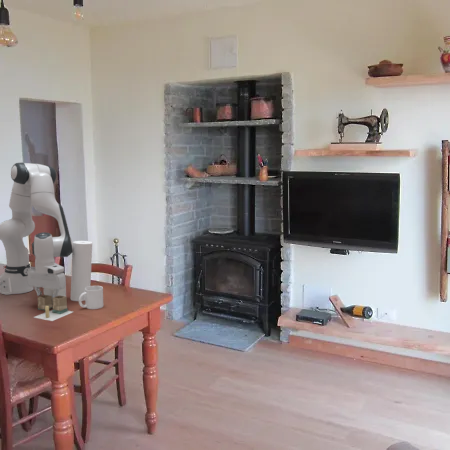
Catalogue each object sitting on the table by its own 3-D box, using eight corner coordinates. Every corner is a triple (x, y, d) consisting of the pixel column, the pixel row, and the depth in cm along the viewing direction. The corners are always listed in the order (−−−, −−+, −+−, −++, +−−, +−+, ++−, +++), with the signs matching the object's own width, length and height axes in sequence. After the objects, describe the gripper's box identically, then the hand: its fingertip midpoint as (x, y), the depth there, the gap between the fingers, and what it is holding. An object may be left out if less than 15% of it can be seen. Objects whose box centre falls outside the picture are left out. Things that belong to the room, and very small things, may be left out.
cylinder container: (84, 303, 255) (87, 243, 251) (67, 301, 257) (69, 241, 253) (93, 298, 264) (95, 240, 260) (76, 296, 266) (78, 238, 262)
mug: (82, 314, 240) (81, 292, 238) (75, 309, 246) (74, 288, 245) (106, 309, 248) (105, 288, 246) (98, 305, 254) (98, 284, 252)
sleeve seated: (52, 312, 238) (51, 298, 237) (59, 309, 242) (59, 295, 241) (60, 314, 236) (59, 299, 235) (67, 311, 240) (67, 296, 239)
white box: (43, 305, 252) (42, 287, 250) (53, 302, 258) (53, 284, 256) (56, 308, 248) (55, 290, 247) (66, 304, 255) (65, 286, 253)
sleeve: (37, 311, 243) (36, 297, 242) (45, 308, 248) (44, 294, 246) (45, 313, 241) (44, 298, 240) (52, 310, 246) (52, 295, 244)
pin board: (33, 319, 232) (32, 306, 231) (55, 310, 244) (55, 298, 243) (52, 323, 227) (51, 310, 226) (73, 314, 240) (73, 301, 239)
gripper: (23, 267, 243) (25, 296, 245) (57, 271, 235) (59, 300, 237) (33, 264, 248) (35, 292, 251) (67, 267, 240) (68, 296, 243)
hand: (47, 296), depth 244 cm, fingers open, 8 cm apart
